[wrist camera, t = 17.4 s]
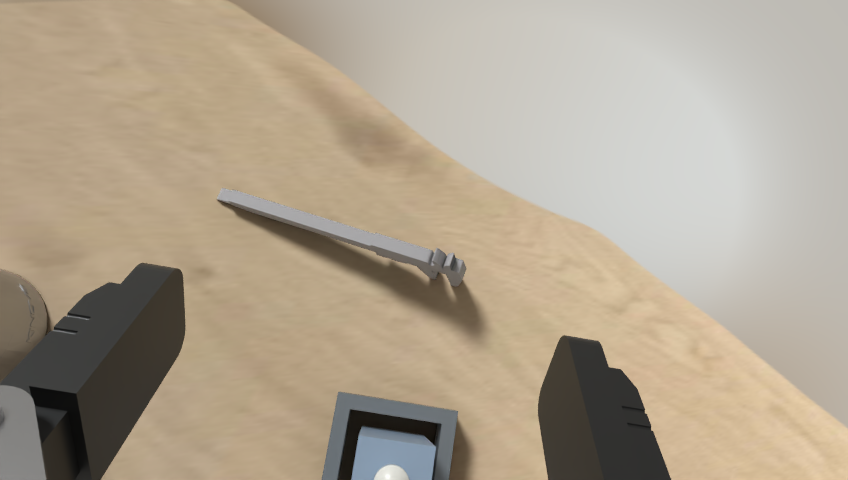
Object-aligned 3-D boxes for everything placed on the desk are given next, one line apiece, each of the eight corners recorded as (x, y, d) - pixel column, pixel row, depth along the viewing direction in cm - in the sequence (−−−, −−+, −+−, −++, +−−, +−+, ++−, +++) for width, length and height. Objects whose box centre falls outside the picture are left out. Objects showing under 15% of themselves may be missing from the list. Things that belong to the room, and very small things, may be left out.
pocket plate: (435, 533, 41) (440, 544, 38) (317, 515, 41) (312, 525, 38) (452, 409, 44) (458, 411, 40) (340, 391, 43) (338, 391, 40)
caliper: (460, 276, 47) (473, 258, 40) (456, 288, 46) (468, 273, 40) (223, 189, 47) (200, 159, 41) (217, 201, 46) (193, 173, 40)
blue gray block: (413, 499, 42) (426, 535, 31) (351, 490, 42) (343, 524, 31) (422, 434, 43) (437, 448, 32) (362, 425, 43) (358, 436, 32)
